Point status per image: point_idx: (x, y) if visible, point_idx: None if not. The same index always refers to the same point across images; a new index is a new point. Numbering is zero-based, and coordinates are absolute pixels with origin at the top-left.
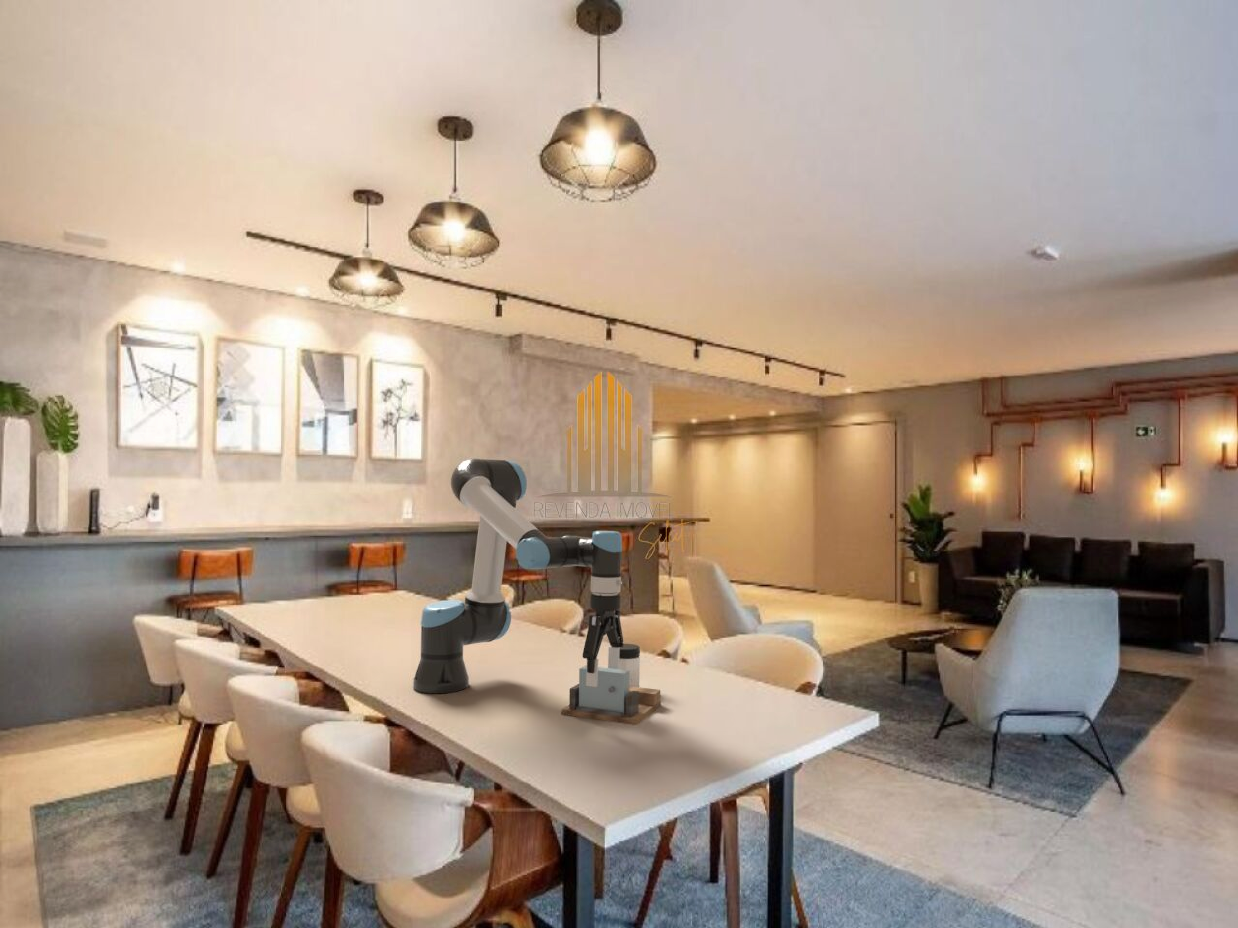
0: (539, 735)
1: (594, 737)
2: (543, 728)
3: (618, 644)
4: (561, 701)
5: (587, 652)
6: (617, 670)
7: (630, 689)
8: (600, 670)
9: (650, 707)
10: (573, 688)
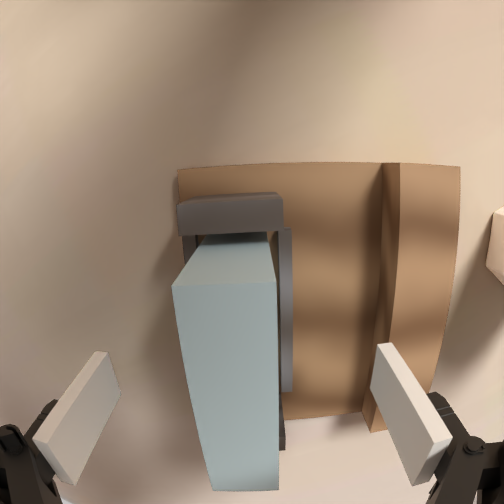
0: (8, 227)
1: (69, 355)
2: (44, 204)
3: (429, 497)
4: (329, 92)
5: (8, 466)
6: (251, 464)
7: (405, 357)
8: (203, 409)
9: (337, 411)
10: (188, 221)
